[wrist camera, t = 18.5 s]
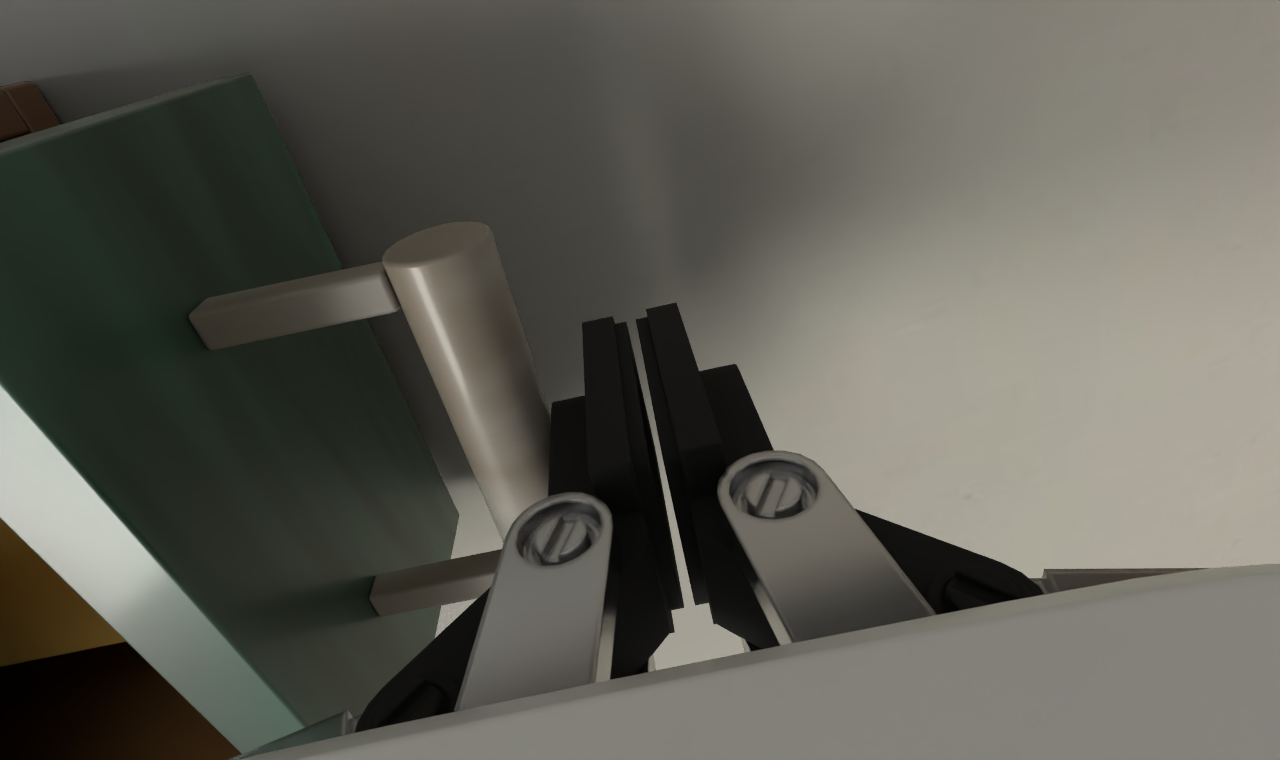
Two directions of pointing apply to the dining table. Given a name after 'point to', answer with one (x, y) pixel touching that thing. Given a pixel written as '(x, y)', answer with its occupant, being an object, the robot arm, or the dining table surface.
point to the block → (42, 609)
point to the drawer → (233, 431)
